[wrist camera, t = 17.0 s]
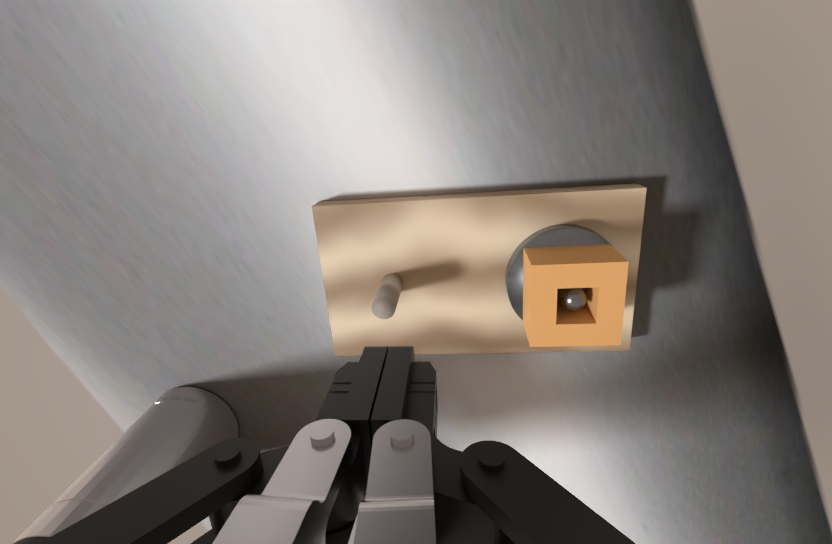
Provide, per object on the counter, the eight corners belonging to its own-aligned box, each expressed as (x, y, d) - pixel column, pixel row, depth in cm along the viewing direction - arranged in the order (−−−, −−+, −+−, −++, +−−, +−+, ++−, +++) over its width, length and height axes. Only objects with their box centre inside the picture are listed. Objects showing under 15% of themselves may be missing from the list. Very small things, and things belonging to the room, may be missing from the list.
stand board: (621, 339, 40) (653, 384, 33) (340, 345, 43) (319, 388, 36) (636, 183, 35) (677, 201, 29) (319, 201, 38) (290, 221, 31)
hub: (613, 325, 37) (636, 356, 33) (505, 327, 38) (512, 359, 34) (623, 221, 34) (649, 239, 30) (504, 226, 35) (512, 245, 31)
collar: (603, 320, 36) (620, 345, 32) (522, 322, 36) (530, 346, 33) (609, 244, 34) (628, 261, 30) (523, 248, 34) (531, 265, 30)
